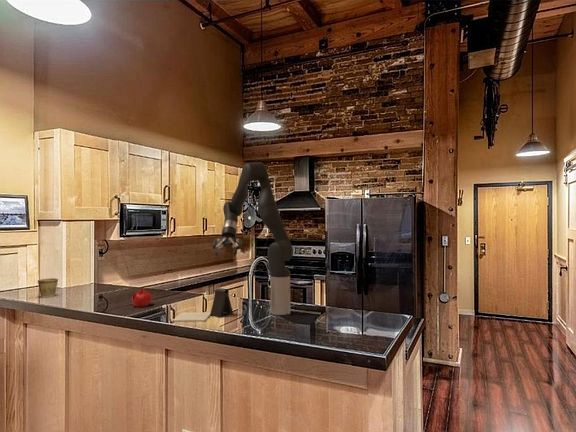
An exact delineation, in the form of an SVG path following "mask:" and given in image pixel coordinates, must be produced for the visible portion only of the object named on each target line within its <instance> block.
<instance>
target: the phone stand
mask: <svg viewBox="0 0 576 432" xmlns="http://www.w3.org/2000/svg"><path fill="white" fill-rule="evenodd" d="M229 295H230V294H229V289H227V288H218V287H217V288H215V290H214V296H213V297H214V298H213V300H212V301H213V302H212V305H211V310H210V312H211V313H210V316H209V317H214V316H215V317H216V318H220V317H221V318H223V316H224V317H226V316H229V315H233V313H234V311H233V306H232V302H231V300H230V296H229Z"/></svg>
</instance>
